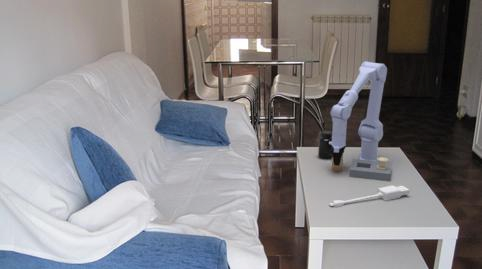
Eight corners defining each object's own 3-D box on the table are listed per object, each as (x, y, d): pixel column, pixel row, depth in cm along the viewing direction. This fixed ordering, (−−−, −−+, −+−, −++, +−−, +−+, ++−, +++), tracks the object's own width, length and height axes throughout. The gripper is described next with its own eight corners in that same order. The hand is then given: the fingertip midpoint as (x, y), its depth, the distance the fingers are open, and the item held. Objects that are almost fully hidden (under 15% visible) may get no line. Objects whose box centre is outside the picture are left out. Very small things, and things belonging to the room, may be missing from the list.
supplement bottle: (315, 156, 227) (316, 131, 224) (327, 153, 230) (328, 129, 227) (323, 160, 222) (324, 135, 218) (336, 158, 224) (337, 133, 221)
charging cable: (326, 206, 178) (326, 197, 177) (401, 191, 188) (401, 183, 187) (333, 212, 173) (333, 203, 172) (409, 196, 183) (410, 188, 182)
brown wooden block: (332, 167, 213) (333, 151, 211) (342, 168, 212) (343, 152, 210) (331, 170, 210) (332, 154, 208) (341, 171, 209) (342, 155, 207)
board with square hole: (352, 165, 216) (353, 150, 214) (390, 169, 211) (392, 153, 209) (349, 176, 203) (350, 160, 201) (389, 180, 198) (391, 164, 196)
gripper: (332, 127, 214) (330, 157, 218) (327, 136, 201) (325, 168, 205) (348, 129, 212) (346, 158, 216) (344, 138, 199) (342, 169, 203)
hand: (337, 163), depth 210 cm, fingers closed on brown wooden block, 4 cm apart
